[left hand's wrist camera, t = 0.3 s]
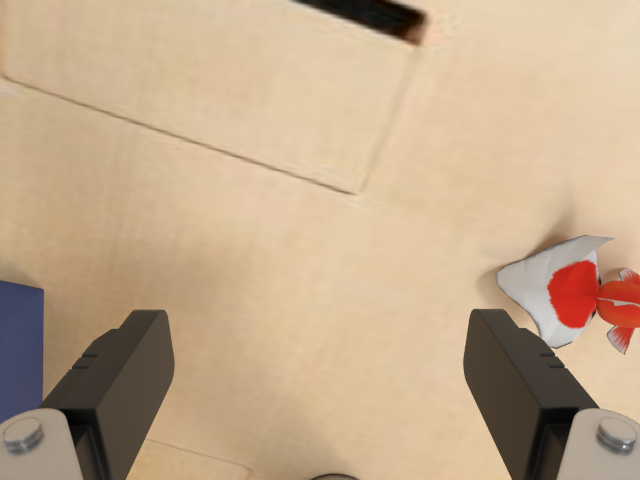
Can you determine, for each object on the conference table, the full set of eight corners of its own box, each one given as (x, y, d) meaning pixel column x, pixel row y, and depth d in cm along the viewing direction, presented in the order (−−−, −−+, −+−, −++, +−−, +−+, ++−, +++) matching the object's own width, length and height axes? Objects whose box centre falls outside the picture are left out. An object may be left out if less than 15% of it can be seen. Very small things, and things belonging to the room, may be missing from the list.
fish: (619, 389, 42) (678, 417, 32) (470, 306, 46) (483, 309, 37) (674, 294, 42) (749, 293, 32) (520, 219, 46) (546, 199, 36)
